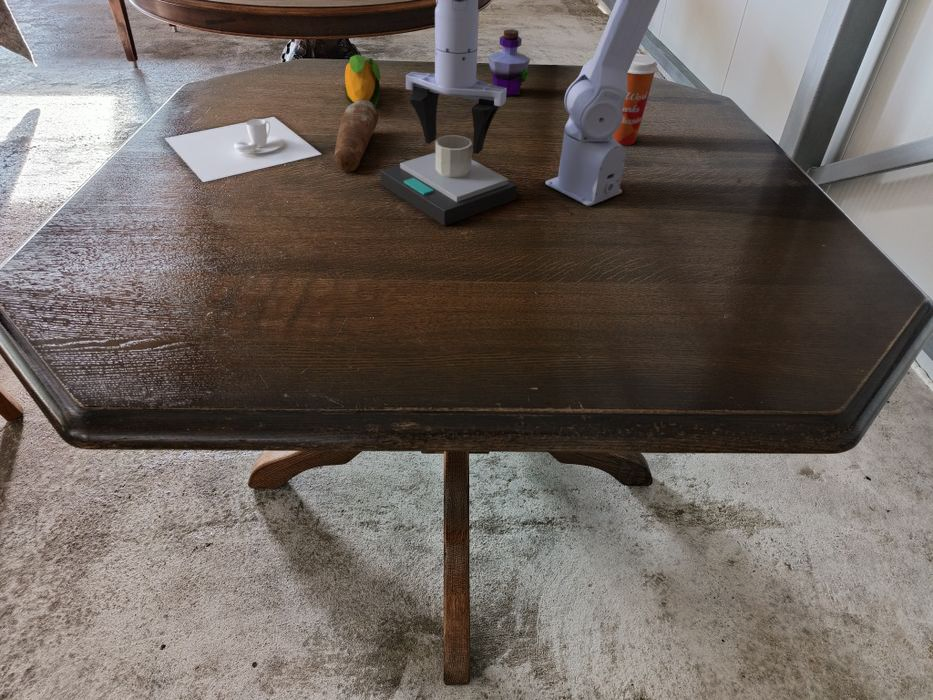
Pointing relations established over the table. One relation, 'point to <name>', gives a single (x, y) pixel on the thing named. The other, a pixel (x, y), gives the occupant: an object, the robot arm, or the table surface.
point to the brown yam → (354, 134)
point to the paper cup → (635, 97)
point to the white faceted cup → (453, 155)
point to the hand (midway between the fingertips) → (454, 146)
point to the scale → (448, 189)
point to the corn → (362, 80)
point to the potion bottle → (509, 64)
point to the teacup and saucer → (240, 148)
